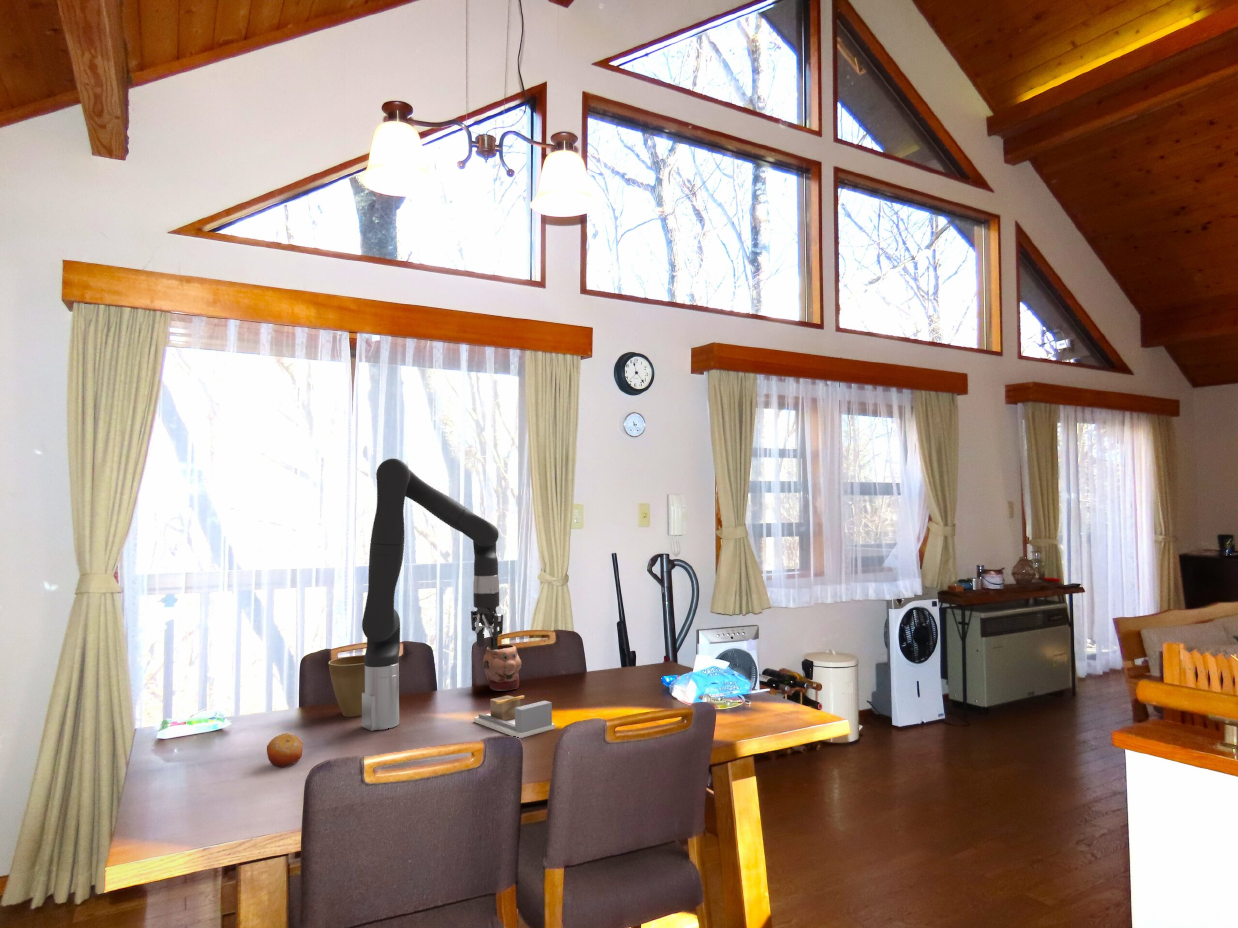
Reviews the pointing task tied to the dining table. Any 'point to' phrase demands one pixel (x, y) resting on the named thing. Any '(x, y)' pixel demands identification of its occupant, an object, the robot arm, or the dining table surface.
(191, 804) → the dining table surface
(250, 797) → the dining table surface
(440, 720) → the dining table surface
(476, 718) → the base
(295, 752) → the fruit
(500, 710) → the block
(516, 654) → the decorative planter
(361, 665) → the plant pot
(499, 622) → the robot arm
